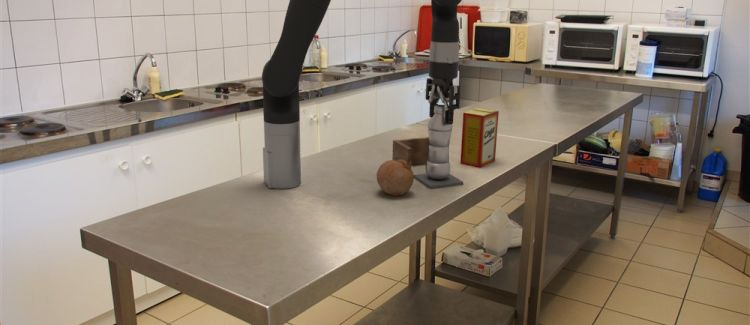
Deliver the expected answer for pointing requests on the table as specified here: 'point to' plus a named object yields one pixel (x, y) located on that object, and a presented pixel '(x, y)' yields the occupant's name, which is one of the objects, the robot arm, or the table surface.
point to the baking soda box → (479, 137)
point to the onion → (395, 177)
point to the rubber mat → (438, 181)
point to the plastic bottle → (438, 145)
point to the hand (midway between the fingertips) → (440, 120)
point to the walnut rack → (411, 150)
